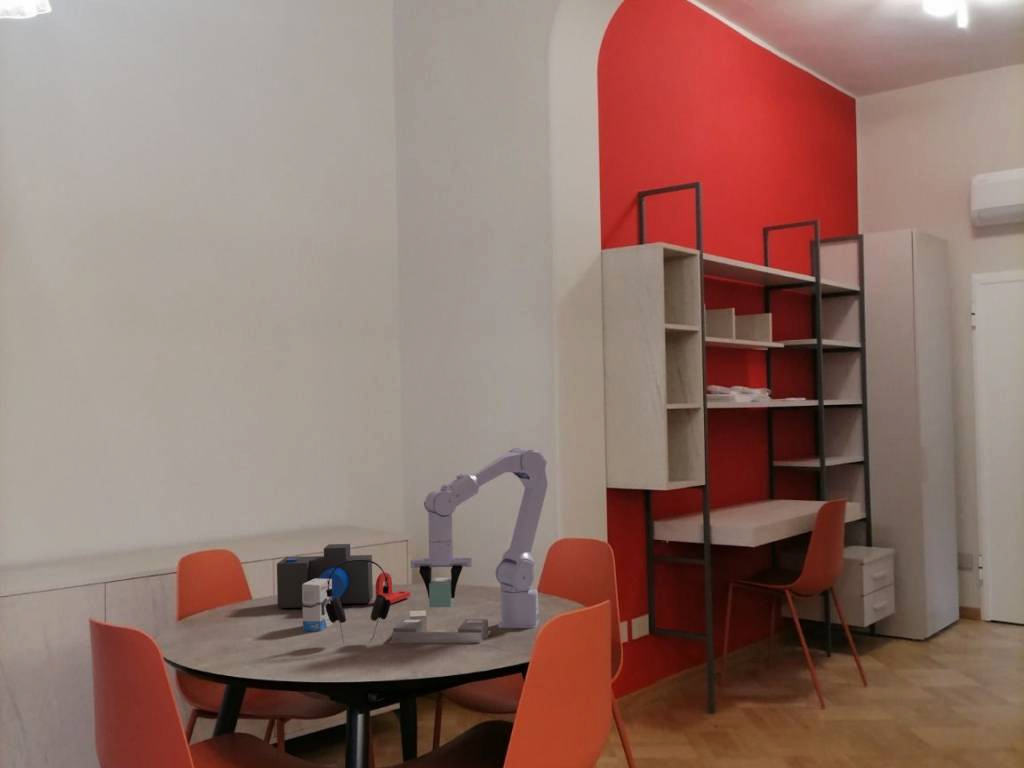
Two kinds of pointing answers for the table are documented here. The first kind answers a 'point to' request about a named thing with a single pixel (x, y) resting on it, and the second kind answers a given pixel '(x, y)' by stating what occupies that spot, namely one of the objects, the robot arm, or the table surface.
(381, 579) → the bracket
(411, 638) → the rail
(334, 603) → the headphones
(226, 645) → the table surface
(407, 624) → the mounted modules
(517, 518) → the robot arm
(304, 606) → the ink box
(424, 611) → the block
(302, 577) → the camera
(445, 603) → the teal module
